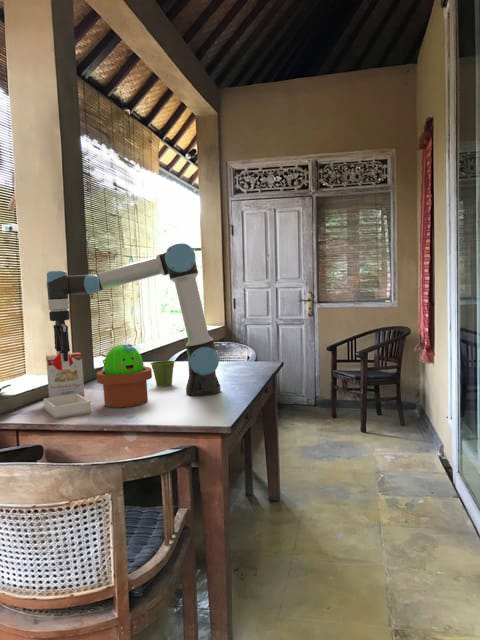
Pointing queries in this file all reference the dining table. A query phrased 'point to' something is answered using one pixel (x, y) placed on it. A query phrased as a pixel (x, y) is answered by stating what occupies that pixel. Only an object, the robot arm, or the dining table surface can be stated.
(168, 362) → the plant pot
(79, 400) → the box
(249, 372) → the dining table surface
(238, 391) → the dining table surface
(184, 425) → the dining table surface
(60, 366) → the apple
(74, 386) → the cracker box
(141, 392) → the potted cactus
